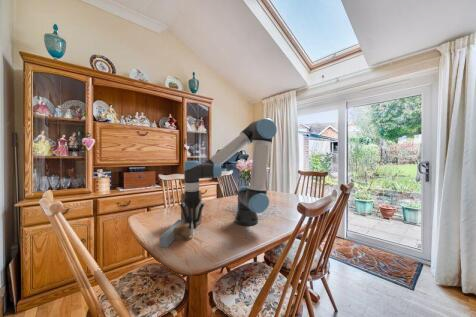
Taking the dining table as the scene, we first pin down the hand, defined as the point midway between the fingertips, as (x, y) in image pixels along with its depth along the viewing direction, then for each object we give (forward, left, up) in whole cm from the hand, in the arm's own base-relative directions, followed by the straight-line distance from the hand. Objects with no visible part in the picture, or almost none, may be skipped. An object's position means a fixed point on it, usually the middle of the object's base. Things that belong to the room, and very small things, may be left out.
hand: (193, 234), depth 106 cm
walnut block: (+5, 0, -2) cm, 6 cm away
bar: (+11, 0, -1) cm, 11 cm away
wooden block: (+7, -19, -2) cm, 20 cm away
